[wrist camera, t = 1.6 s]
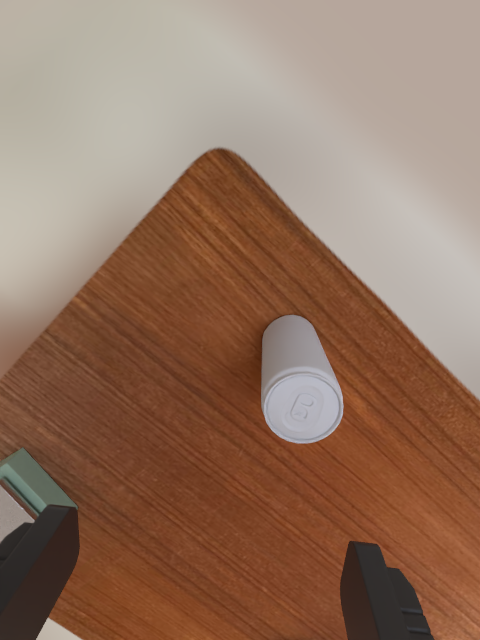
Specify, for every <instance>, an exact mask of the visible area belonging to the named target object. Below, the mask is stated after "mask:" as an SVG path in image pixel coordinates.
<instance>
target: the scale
mask: <svg viewBox="0 0 480 640" xmlns="http://www.w3.org/2000/svg"><path fill="white" fill-rule="evenodd" d="M1 478H4V479H5V480H6V481H7V482H8V483H9V484H10V485H11V486H12V487H13V488H14V489H15V490H16V491H17V492H18V493H19V494H20V495H21V496H22V497H23V498H24V499H25V500H26V501H27V503H28V504H29V505H30V506H31V507H32V508H33V509H34V510H35V511H36V512H37V513H38V514H39V515H40V513H41V512H42V511H43V509H44V508H45V507H46V506H47V505H49V504H54V505H63V506H71V507H76V509H78V507H77V505H76V504H75V503H74V502H73V501H72V500H71V499H70V498H69V497H68V496H67V495H66V494H65V492H64V491H63V490H62V489H61V488H60V487H59V486H58V485H57V484H56V483H55V482H54V481H53V479H52V478H51V477H50V476H49V475H48V474H47V473H46V472H45V471H44V470H43V469H42V468H41V466H40V465H39V464H38V463H37V462H36V461H35V460H34V459H33V458H32V457H31V456H30V455H29V453H28V452H27V451H26V450H25V449H24V448H21V449H19V450H18V451H16V452H15V453H13V454H11V455H10V456H8V457H7V458H5V459H3V460H2V461H0V479H1Z"/></svg>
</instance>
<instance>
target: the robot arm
mask: <svg viewBox="0 0 480 640" xmlns="http://www.w3.org/2000/svg"><path fill="white" fill-rule="evenodd" d="M79 547H80V544H79V530H78V515H77V509H76V507H71V506H63V505H54V504H49V505H47V506H46V507H45V508H44V509H43V511H42V512H41V513H40V515H39V516H38V517H37V519H36V520H35V521H34V523H28V522H24V523H23V524H22V525H20V526H19V527H18V528H16V529H15V530H14V531H12V532H11V533H10V534H8V535H7V536H6V537H5V538H4V539H3V540H2V541H1V543H0V640H36V638H37V636H38V634H39V633H40V631H41V629H42V627H43V625H44V623H45V622H46V619H47V618H48V616H49V614H50V612H51V610H52V609H53V607H54V605H55V603H56V601H57V599H58V597H59V596H60V594H61V592H62V590H63V588H64V586H65V584H66V583H67V581H68V579H69V577H70V575H71V573H72V571H73V569H74V567H75V565H76V562H77V558H78V554H79ZM340 596H341V605H342V611H343V616H344V621H345V626H346V631H347V637H348V640H434V638H433V636H432V635H431V633H430V628H429V626H428V623H427V621H426V618H425V616H423V610H422V608H421V605H420V603H419V600H418V598H417V595H416V593H415V590H414V588H413V587H412V586H411V584H410V583H409V582H408V580H407V579H406V578H405V576H404V575H403V574H402V572H401V571H400V570H399V569H397V568H388V567H386V564H385V561H384V558H383V555H382V552H381V550H380V547H379V546H378V545H377V544H373V543H365V542H356V541H350V542H349V544H348V548H347V553H346V558H345V562H344V567H343V572H342V576H341V583H340Z"/></svg>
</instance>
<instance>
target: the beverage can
mask: <svg viewBox="0 0 480 640" xmlns="http://www.w3.org/2000/svg"><path fill="white" fill-rule="evenodd" d="M261 407H262V411H263V414H264V417H265V419H266V422H267V424H268V426H269V427H270V428H271V430H272V431H273V432H274V433H275V434H277V435H278V436H279V437H281V438H283V439H285V440H287V441H290V442H294V443H312V442H316V441H319V440H321V439H323V438H325V437H327V436H328V435H329V434H331V433H332V432H333V431H334V430H335V429H336V427H337V426H338V424H339V423H340V421H341V418H342V415H343V396H342V393H341V389H340V386H339V384H338V381H337V379H336V377H335V375H334V372H333V370H332V368H331V366H330V364H329V361H328V359H327V357H326V355H325V352H324V350H323V348H322V346H321V343H320V341H319V339H318V336H317V334H316V331H315V329H314V328H313V326H312V324H311V323H310V322H309V321H308V320H306V319H304V318H302V317H300V316H296V315H286V316H283V317H280V318H278V319H276V320H275V321H273V322H272V323H271V324H270V325H269V326H268V327H267V328H266V330H265V331H264V334H263V338H262V382H261Z"/></svg>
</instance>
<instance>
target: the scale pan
mask: <svg viewBox="0 0 480 640" xmlns="http://www.w3.org/2000/svg"><path fill="white" fill-rule="evenodd" d="M38 516H39V514H38V513H37V512H36V511H35V510H34V509H33V508H32V507H31V506H30V505H29V504H28V503H27V501H26V500H25V499H24V498H23V497H22V496H21V495H20V494H19V493H18V492H17V491H16V490H15V489H14V488H13V487H12V486H11V485H10V484H9V483H8V482H7V481H6V480H5V479H4V478H1V479H0V543H1V541H2V540H3V539H4V538H5V537H6V536H7V535H8V534H10V533H11V532H12V531H14V530H15V529H16V528H18V527H19V526H20V525H22V524H23V523H24V522H28V523H34V521H35V520H36V519H37V517H38Z"/></svg>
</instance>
